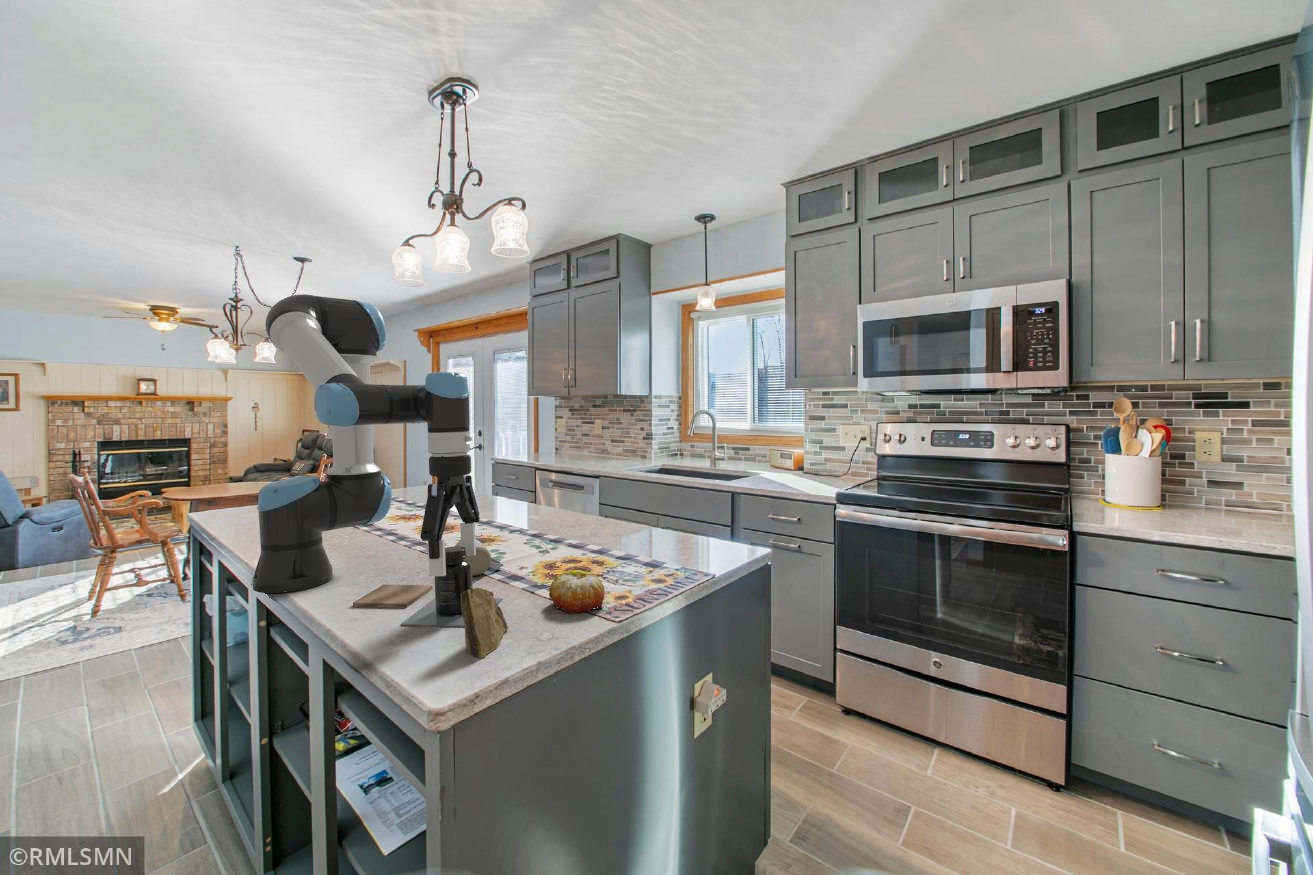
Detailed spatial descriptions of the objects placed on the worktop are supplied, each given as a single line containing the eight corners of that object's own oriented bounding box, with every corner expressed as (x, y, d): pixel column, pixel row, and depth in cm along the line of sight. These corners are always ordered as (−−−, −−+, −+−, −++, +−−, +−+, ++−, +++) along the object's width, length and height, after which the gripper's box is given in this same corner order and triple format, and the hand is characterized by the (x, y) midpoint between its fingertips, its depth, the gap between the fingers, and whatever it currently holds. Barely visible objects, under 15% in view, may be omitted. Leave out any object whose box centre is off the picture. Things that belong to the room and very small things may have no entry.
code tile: (400, 625, 101) (400, 623, 101) (436, 598, 115) (436, 596, 115) (475, 627, 100) (475, 625, 100) (502, 599, 114) (502, 597, 114)
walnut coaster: (352, 606, 110) (352, 602, 110) (383, 587, 121) (383, 584, 121) (406, 607, 109) (406, 603, 109) (432, 588, 120) (432, 585, 120)
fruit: (537, 610, 107) (542, 567, 109) (563, 607, 116) (567, 568, 118) (589, 616, 103) (593, 572, 105) (612, 613, 113) (615, 572, 114)
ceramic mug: (461, 580, 126) (461, 546, 126) (451, 571, 133) (451, 539, 132) (507, 572, 133) (506, 540, 132) (495, 564, 139) (494, 533, 139)
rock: (493, 610, 102) (442, 619, 94) (513, 578, 99) (463, 585, 91) (519, 660, 96) (468, 674, 88) (542, 627, 93) (491, 639, 85)
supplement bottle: (480, 607, 108) (479, 547, 107) (451, 619, 102) (449, 555, 102) (457, 601, 112) (456, 542, 111) (427, 612, 106) (425, 550, 105)
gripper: (438, 460, 92) (443, 585, 94) (493, 449, 117) (496, 548, 119) (395, 461, 93) (400, 585, 94) (458, 449, 118) (462, 548, 119)
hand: (454, 564), depth 106 cm, fingers open, 13 cm apart
